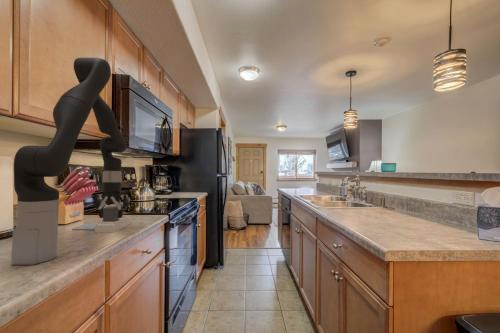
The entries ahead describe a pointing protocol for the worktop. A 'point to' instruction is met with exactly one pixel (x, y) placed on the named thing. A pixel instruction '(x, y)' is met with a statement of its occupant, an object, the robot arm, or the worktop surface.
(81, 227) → the trivet
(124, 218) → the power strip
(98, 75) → the robot arm
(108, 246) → the worktop surface
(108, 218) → the charger
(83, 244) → the worktop surface
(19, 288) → the worktop surface
